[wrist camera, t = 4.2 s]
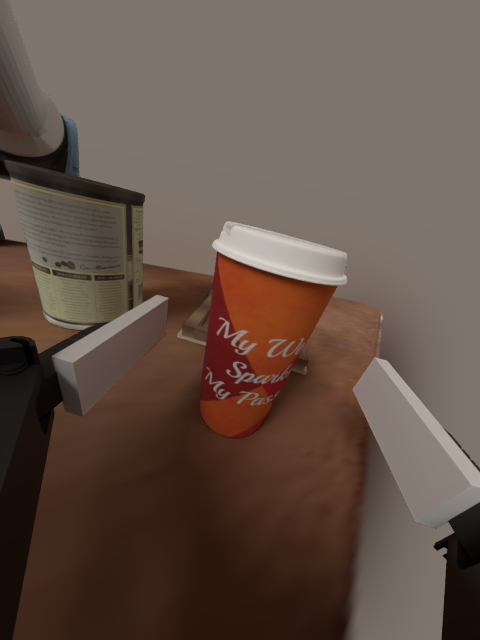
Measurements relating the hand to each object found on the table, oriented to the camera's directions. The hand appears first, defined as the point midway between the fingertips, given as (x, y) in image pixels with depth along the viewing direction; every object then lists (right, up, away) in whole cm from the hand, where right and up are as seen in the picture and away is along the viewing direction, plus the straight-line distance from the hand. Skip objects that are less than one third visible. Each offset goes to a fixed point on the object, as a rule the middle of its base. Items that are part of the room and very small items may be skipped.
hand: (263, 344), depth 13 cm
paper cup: (-2, -6, +5) cm, 8 cm away
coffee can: (-20, +3, +13) cm, 24 cm away
